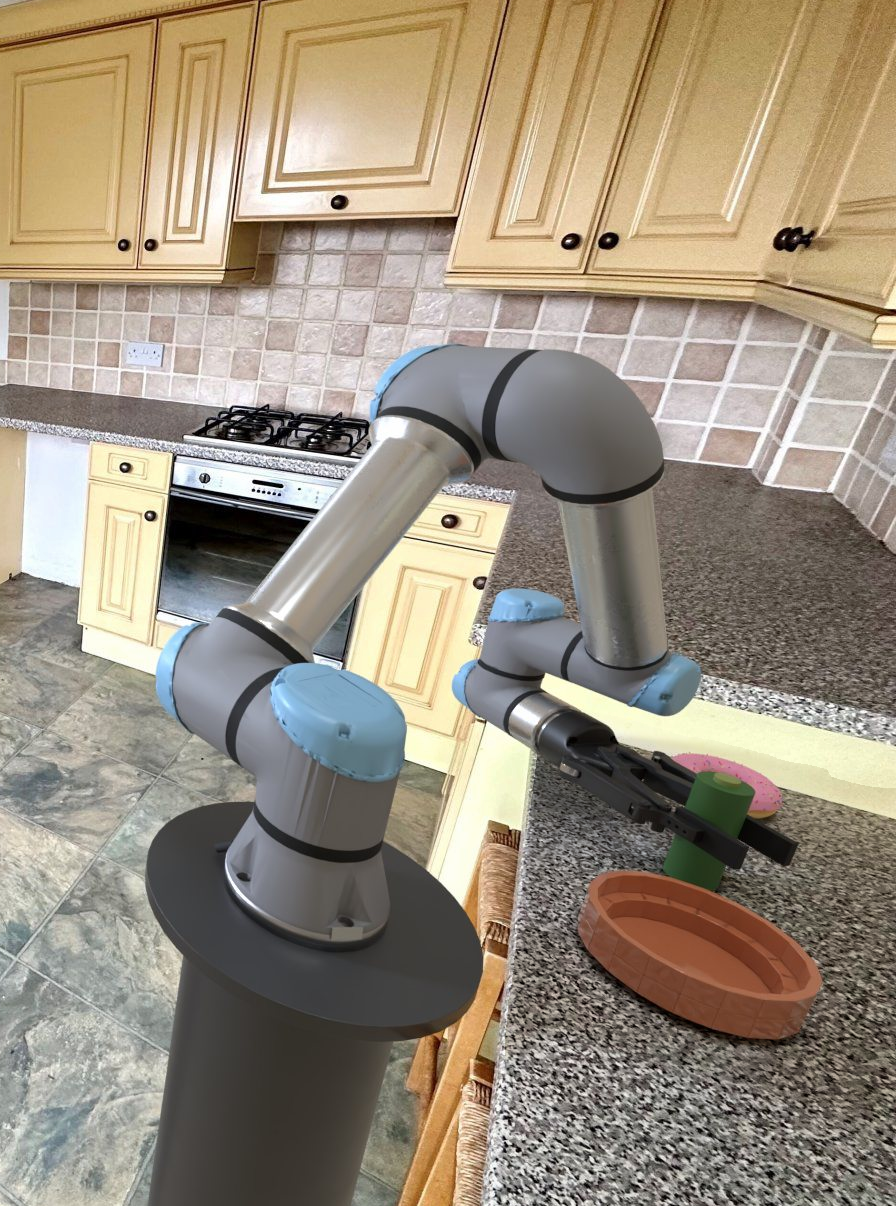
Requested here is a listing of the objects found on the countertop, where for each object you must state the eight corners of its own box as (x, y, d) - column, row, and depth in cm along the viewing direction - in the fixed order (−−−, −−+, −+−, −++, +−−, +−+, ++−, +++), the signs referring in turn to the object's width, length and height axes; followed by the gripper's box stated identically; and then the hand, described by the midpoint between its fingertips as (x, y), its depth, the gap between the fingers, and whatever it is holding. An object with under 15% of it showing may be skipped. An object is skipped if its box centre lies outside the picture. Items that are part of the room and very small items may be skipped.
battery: (664, 879, 84) (701, 779, 80) (661, 858, 87) (696, 761, 83) (720, 897, 81) (761, 795, 78) (714, 875, 85) (754, 776, 81)
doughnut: (656, 798, 98) (666, 770, 97) (658, 763, 106) (668, 737, 104) (779, 837, 91) (792, 807, 90) (772, 797, 99) (784, 768, 97)
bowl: (574, 980, 71) (589, 937, 69) (576, 888, 82) (589, 849, 81) (818, 1082, 62) (842, 1034, 60) (781, 962, 73) (800, 920, 72)
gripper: (616, 756, 101) (830, 881, 79) (491, 763, 99) (674, 893, 77) (633, 705, 99) (858, 819, 77) (505, 711, 97) (698, 830, 75)
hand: (765, 856), depth 77 cm, fingers open, 5 cm apart
